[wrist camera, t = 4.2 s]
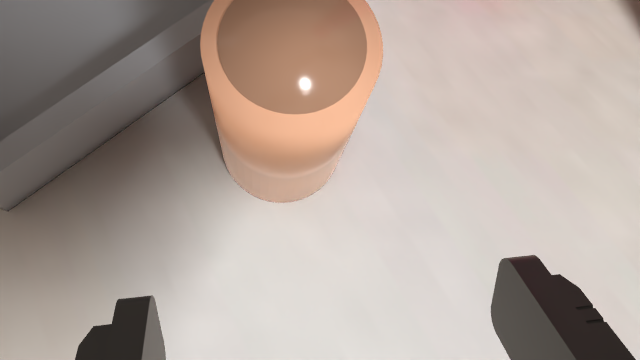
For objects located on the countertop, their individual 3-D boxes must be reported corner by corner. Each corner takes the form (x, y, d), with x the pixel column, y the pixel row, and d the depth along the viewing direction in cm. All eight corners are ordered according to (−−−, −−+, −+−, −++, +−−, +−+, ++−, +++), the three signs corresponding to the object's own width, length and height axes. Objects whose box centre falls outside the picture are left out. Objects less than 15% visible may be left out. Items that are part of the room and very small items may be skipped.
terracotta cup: (289, 69, 28) (304, -70, 18) (363, 154, 27) (420, 57, 17) (197, 136, 27) (161, 27, 17) (272, 226, 26) (280, 167, 16)
